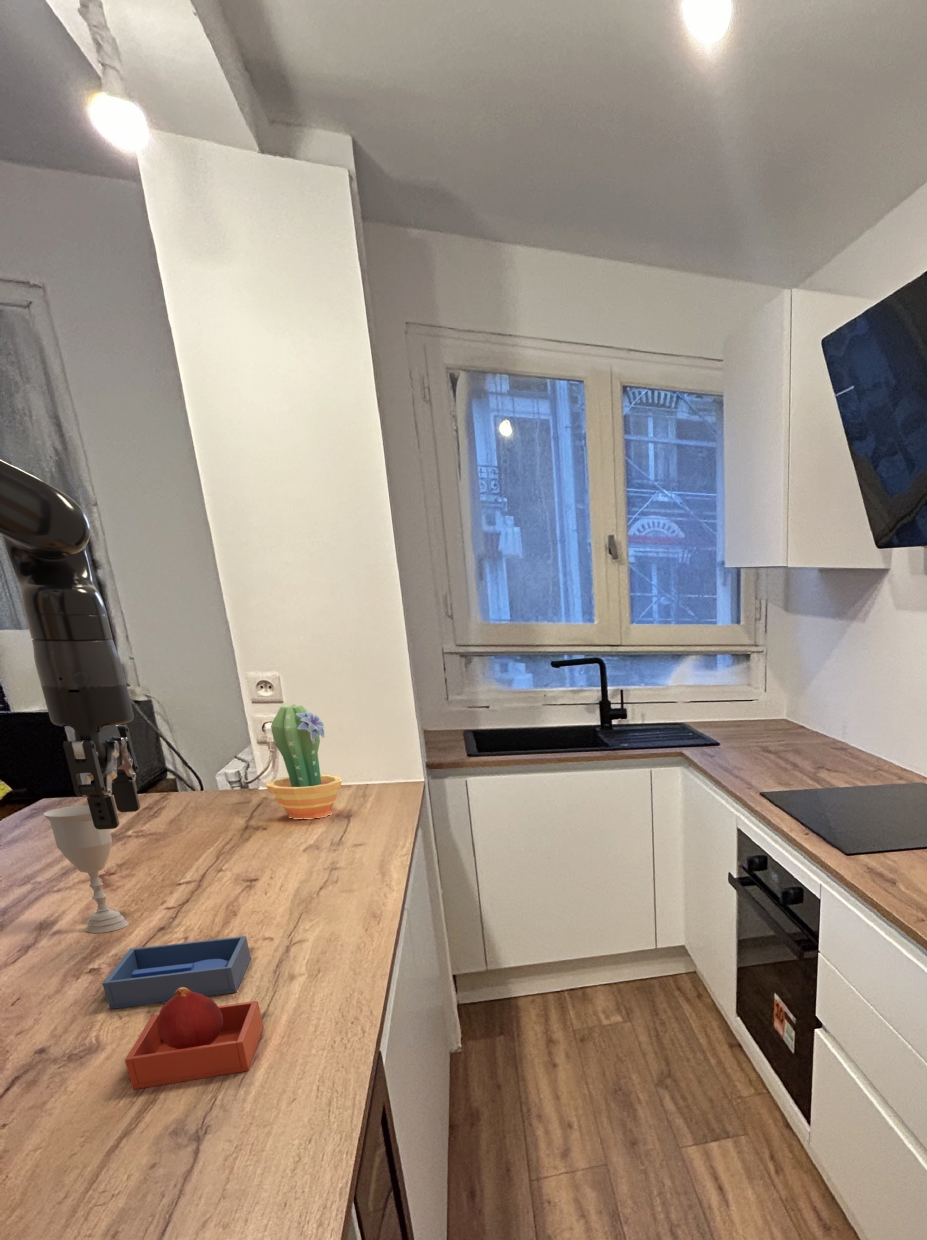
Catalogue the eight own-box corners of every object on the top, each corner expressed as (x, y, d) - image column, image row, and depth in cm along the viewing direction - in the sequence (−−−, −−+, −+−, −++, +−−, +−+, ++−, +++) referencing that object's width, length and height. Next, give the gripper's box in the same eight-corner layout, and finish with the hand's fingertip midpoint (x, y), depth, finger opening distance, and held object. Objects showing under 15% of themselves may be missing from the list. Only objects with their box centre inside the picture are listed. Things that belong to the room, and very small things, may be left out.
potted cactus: (281, 827, 177) (259, 711, 169) (264, 813, 188) (243, 703, 179) (356, 817, 187) (340, 706, 179) (336, 804, 198) (320, 700, 189)
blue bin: (109, 1009, 99) (102, 983, 97) (136, 972, 108) (129, 948, 107) (236, 992, 104) (230, 967, 102) (251, 958, 113) (246, 935, 112)
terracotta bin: (132, 1089, 83) (124, 1060, 82) (159, 1042, 92) (152, 1014, 90) (248, 1070, 87) (242, 1042, 86) (263, 1027, 96) (258, 1000, 94)
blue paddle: (130, 992, 102) (126, 979, 101) (140, 977, 106) (137, 964, 105) (225, 980, 106) (223, 968, 105) (232, 966, 110) (229, 953, 109)
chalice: (136, 915, 127) (107, 803, 121) (139, 928, 122) (109, 812, 116) (75, 925, 123) (42, 809, 117) (76, 939, 118) (42, 819, 112)
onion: (170, 1045, 90) (153, 980, 87) (231, 1035, 93) (217, 971, 90) (161, 1071, 85) (143, 1003, 83) (226, 1059, 88) (210, 992, 85)
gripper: (65, 676, 97) (100, 808, 102) (15, 687, 84) (57, 837, 90) (141, 675, 100) (171, 804, 105) (104, 686, 87) (140, 832, 93)
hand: (119, 819), depth 97 cm, fingers open, 8 cm apart
